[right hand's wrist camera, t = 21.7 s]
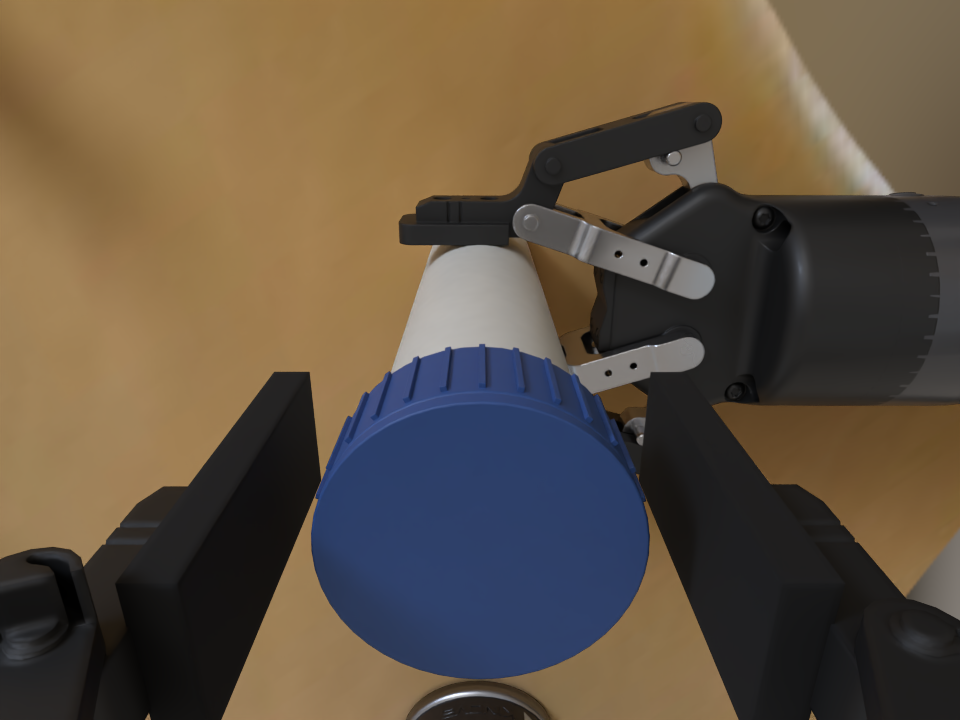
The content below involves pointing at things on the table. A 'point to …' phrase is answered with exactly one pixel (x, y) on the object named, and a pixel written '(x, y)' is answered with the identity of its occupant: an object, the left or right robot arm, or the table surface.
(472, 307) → the jar
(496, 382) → the lid
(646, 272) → the left robot arm
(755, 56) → the table surface
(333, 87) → the table surface
